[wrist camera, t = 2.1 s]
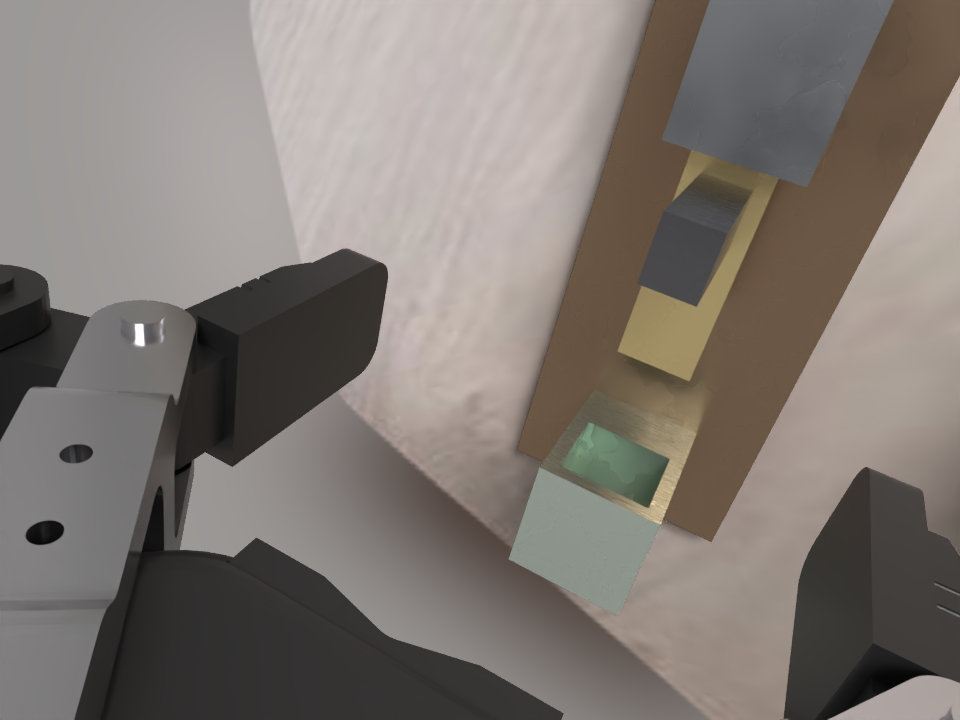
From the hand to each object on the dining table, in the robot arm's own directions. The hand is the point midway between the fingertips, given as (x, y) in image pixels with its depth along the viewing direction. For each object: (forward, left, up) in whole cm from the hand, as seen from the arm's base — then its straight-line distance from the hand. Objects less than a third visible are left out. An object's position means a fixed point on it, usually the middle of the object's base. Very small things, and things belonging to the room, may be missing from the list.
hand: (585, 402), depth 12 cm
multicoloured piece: (0, 0, -20) cm, 20 cm away
